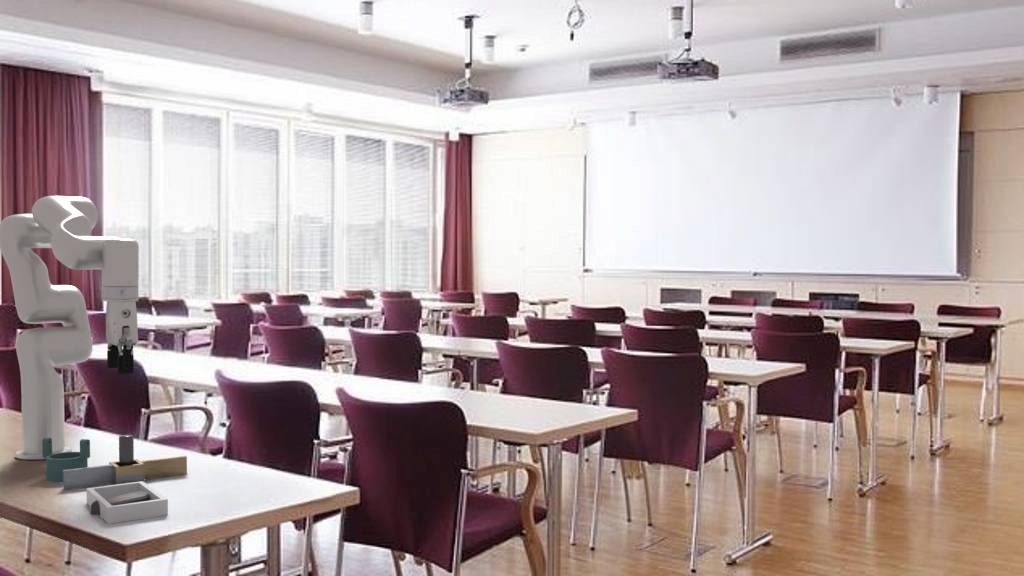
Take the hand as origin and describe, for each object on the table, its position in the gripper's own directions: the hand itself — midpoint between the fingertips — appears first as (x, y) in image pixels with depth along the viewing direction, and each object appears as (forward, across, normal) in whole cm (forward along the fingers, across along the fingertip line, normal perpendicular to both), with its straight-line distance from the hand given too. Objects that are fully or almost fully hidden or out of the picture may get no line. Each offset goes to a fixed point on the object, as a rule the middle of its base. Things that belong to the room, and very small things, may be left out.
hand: (120, 370), depth 222 cm
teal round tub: (+25, +6, +10) cm, 27 cm away
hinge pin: (+24, -5, 0) cm, 24 cm away
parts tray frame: (+23, -29, +5) cm, 37 cm away
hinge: (+24, -5, 0) cm, 24 cm away
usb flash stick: (+24, -29, +6) cm, 38 cm away
